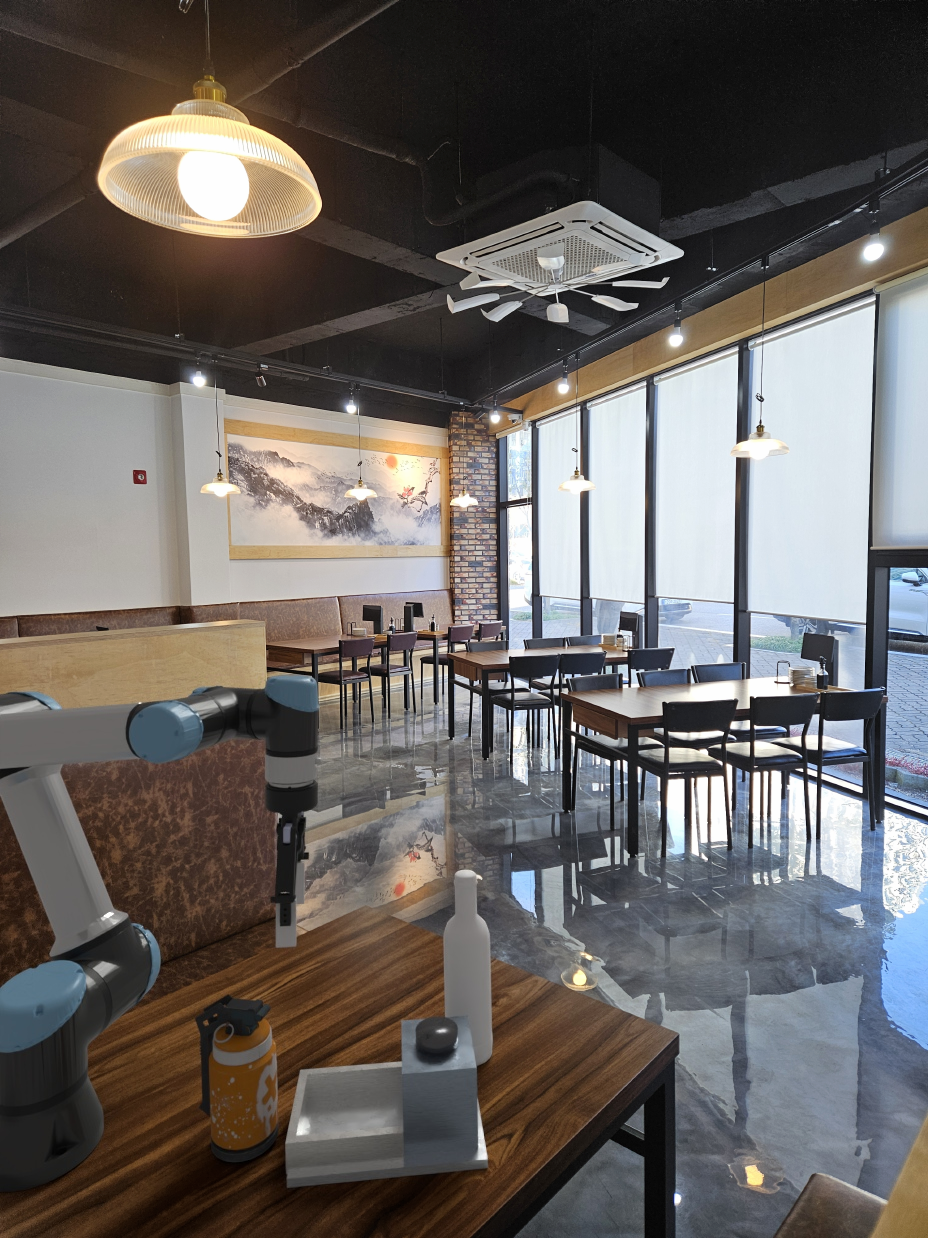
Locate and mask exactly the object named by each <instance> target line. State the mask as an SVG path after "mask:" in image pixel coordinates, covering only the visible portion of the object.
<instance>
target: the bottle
mask: <svg viewBox="0 0 928 1238" xmlns="http://www.w3.org/2000/svg"><path fill="white" fill-rule="evenodd" d="M477 885H478V879H477V873H476V872H475V871H473V870H471V869H461V870H458V871H456V872H455V873H454V880H453V886H454V905H455V906H454V911H455V912H454V915H453V916H452V917H451V918H449V919H448V921H447V922H446V925H445V928H444V931H443V938H442V939H443V941H442V942H443V977H444V978H443V980H444V981H443V983H444V984H443V986H444V987H443V988H444V1017H454V1016H467V1015H468V1020H469V1026H470V1032H471V1037H472V1043H473V1049H474V1055H475V1060H476V1066H477V1067H478V1066H480V1065H482V1064H485V1063H486V1062H487V1061H489V1060H490V1059H491V1057H492V1054H493V1046H494V1045H493V1044H494V1040H493V1039H494V1038H493V1029H492V1028H493V1022H492V1020H493V1019H492V1016H493V1015H492V971H491V967H492V966H491V934H490V931H489V930H490V929H489V928H488V924H487V921H485V920H484V919H483V918H482V916H480V915H479V914H478V910H477V909H478V906H477V904H478V900H477V896H478V895H477V894H478V893H477V892H478V891H477Z"/></svg>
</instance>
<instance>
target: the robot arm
mask: <svg viewBox="0 0 928 1238" xmlns="http://www.w3.org/2000/svg"><path fill="white" fill-rule="evenodd" d="M319 710H320V704H319V693H318V683H317V680H316V679H315V678H314V677H312V676H309V675H304V674H280V675H273V676H269V677H268V678H267V679H266V681H265V686H264V688H247V687H246V688H244V687H233V686H232V687H231V686H230V687H229V686H228V687H227V686H222V685H213V686H201V687H197V688H195V689H194V690H192V692H191V693H190V694H189V695H188V696H187V697H186V696H185V697H181V698H174V699H169V700H168V699H167V700H154V701H145V702H133V703H122V704H121V703H120V704H109V705H108V704H107V705H98V706H97V705H96V706H84V707H74V708H73V707H71V708H63V707H62V706H61V704H59V703H58V701H56V699H55V698H53V697H51V696H49V695H47V694H44V693H41V692H38V691H29V690H28V691H8V692H6V693H2V694H1V693H0V798H1V800H2V803H3V806H4V809H5V811H6V814H7V816H8V819H9V821H10V824H11V826H12V829H13V831H14V834H15V837H16V839H17V842H18V844H19V847H20V849H21V852H22V855H23V857H24V860H25V862H26V864H27V868H28V870H29V873H30V875H31V878H32V881H33V882H34V885H35V887H36V891H37V893H38V895H39V898H40V900H41V904H42V905H43V908H44V911H45V914H46V916H47V919H48V921H49V924H50V926H51V929H52V931H53V933H54V934H53V935H54V936H55V941H54V943H53V945H52V947H51V949H50V952H49V957H50V959H51V961H48V962H43V963H40V964H39V965H38V966H36V967H34V968H32V967H30V968H27V969H26V970H23V971H21V972H20V973H17V974H16V975H14V976H13V977H12V978H10V979H9V980H8V981H5V983H4V984H2V986H1V987H0V1192H2V1193H4V1192H5V1193H12V1192H20V1191H25V1190H29V1189H33V1188H36V1187H38V1186H42V1185H45V1184H47V1183H50V1182H52V1181H53V1180H55V1179H58V1178H59V1177H61V1176H63V1175H65V1174H67V1173H68V1172H70V1171H71V1170H73V1169H74V1168H76V1167H77V1166H78V1165H80V1164H81V1163H82V1162H83V1161H84V1160H85V1159H86V1158H88V1157H89V1156H90V1154H91V1153H92V1152H93V1151H94V1150H95V1148H97V1146H98V1144H99V1142H100V1141H101V1138H102V1136H103V1133H104V1124H105V1121H104V1109H103V1107H102V1104H101V1102H100V1100H99V1098H98V1095H97V1093H96V1091H95V1088H94V1086H93V1084H92V1082H91V1080H90V1077H89V1067H88V1066H89V1065H88V1064H89V1063H88V1062H89V1061H88V1046H89V1045H90V1043H92V1042H93V1040H95V1039H96V1038H97V1037H99V1035H101V1034H103V1032H104V1031H105V1030H107V1029H108V1028H109V1027H110V1026H111V1025H112V1024H114V1023H115V1022H116V1021H117V1020H118V1019H119V1018H120V1017H121V1016H122V1015H124V1014H126V1012H127V1011H128V1010H131V1009H132V1008H134V1007H135V1006H136V1005H137V1004H138V1003H140V1001H142V999H143V997H144V996H145V995H146V994H147V993H148V992H149V991H150V990H151V989H152V988H153V986H154V984H155V983H156V980H157V977H158V975H159V973H160V970H161V961H162V960H161V959H162V958H161V951H160V947H159V944H158V942H157V940H156V938H155V936H154V935H153V933H152V932H151V931H150V930H149V929H145V928H144V926H143V925H142V924H139V923H132V921H131V918H130V916H129V914H128V913H127V912H124V911H121V910H118V909H116V908H114V906H113V903H112V900H111V898H110V896H109V893H108V891H107V887H106V885H105V882H104V881H103V877H102V875H101V873H100V869H99V867H98V865H97V862H96V860H95V857H94V855H93V852H92V849H91V847H90V845H89V843H88V840H87V837H86V835H85V832H84V830H83V828H82V825H81V822H80V820H79V817H78V814H77V812H76V809H75V806H74V805H73V802H72V800H71V796H70V794H69V791H68V789H67V786H66V784H65V781H64V779H63V777H62V774H61V770H62V768H63V766H64V765H70V764H82V763H83V764H85V763H97V762H98V763H99V762H110V761H111V762H112V761H113V762H116V761H125V760H126V761H127V760H128V761H129V760H139V759H143V760H145V761H147V762H148V763H152V764H165V763H168V762H169V763H170V762H175V761H176V762H177V761H180V760H183V759H184V758H186V757H188V756H190V755H192V754H195V753H197V752H200V751H202V750H204V749H207V748H210V747H213V746H215V745H219V744H220V743H224V742H226V741H229V740H231V739H232V740H233V739H234V740H235V739H241V740H260V741H261V740H264V746H265V752H264V779H265V781H266V782H267V783H266V784H265V786H264V790H265V792H264V794H265V797H264V799H265V801H264V803H265V806H264V807H265V809H266V810H268V811H269V812H272V813H274V814H276V813H277V814H280V815H281V817H278V822H277V823H276V829H275V831H276V835H277V836H276V837H277V838H276V851H277V853H276V866H275V867H276V869H275V884H274V885H275V887H274V888H275V889H274V896H270V899H269V900H270V903H271V904H275V948H276V949H278V948H293V947H294V948H295V947H297V912H298V911H297V905H304V904H305V893H306V892H305V888H306V887H305V883H306V882H305V880H306V879H305V878H306V876H305V873H306V872H305V871H306V870H305V867H306V866H305V865H306V863H305V862H306V861H305V860H307V861H308V860H310V852H309V851H306V849H307V846H306V828H307V817H306V816H305V813H306V812H309V811H311V810H314V809H315V807H317V805H318V804H319V802H318V801H319V800H318V799H319V796H318V795H319V793H318V792H319V788H318V787H319V785H318V781H316V779H317V778H318V770H319V769H318V765H321V764H322V763H323V760H322V757H318V750H319V748H318V747H319V746H318V745H319V743H318V742H319V740H318V739H319Z"/></svg>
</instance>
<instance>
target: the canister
mask: <svg viewBox="0 0 928 1238" xmlns="http://www.w3.org/2000/svg"><path fill="white" fill-rule="evenodd" d="M271 1007H272V1006H270V1005H269V1004H267V1003H265V1004H264V1001H263V999H258V998H257V999H256V1000H253V999H244V998H236V997H233V996H231V995H230V994H226V995H224V996H223V997H221V998H219V999H218V1000H216V1001H215V1002H213V1003H211V1004H209V1005H208V1006H205V1007H204V1008H203V1013H201V1014H199V1015H197V1016H195V1017H194V1021H195V1023H196V1026H197V1029H198V1032H199V1035H200V1036H199V1037H200V1038H199V1040H200V1041H199V1052H200V1053H199V1054H200V1066H201V1067H200V1069H201V1070H200V1071H201V1072H200V1074H201V1075H200V1076H201V1103H200V1104H199V1106H198V1108H199V1109H200V1110H201V1111H203V1112H204V1113H205V1114H206V1115H207V1116H208V1117H210V1143H211V1144H210V1148H211V1151H212V1153H213V1154H214V1156H215V1157H216V1158H218V1159H219V1160H221V1161H223V1162H230V1163H240V1162H245V1161H248V1160H252V1159H255V1158H257V1157H259V1156H261V1155H262V1154H263V1153H265V1152H266V1151H268V1149H270V1148H271V1146H273V1145H274V1142H276V1140H277V1138H278V1134H279V1102H278V1100H279V1099H278V1097H279V1096H278V1095H279V1094H278V1065H277V1064H278V1062H277V1043H276V1040H275V1039H274V1038H273V1032H272V1030H273V1029H272V1026H271V1025H270V1024H269V1021H268V1020H267V1019H266V1018H265V1017H266V1016H267V1014H268V1013H269V1012H271ZM206 1021H207V1023H208V1024H207V1025H206V1024H205V1022H206Z"/></svg>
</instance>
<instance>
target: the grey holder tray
mask: <svg viewBox="0 0 928 1238" xmlns="http://www.w3.org/2000/svg"><path fill="white" fill-rule="evenodd" d="M400 1022H401V1023H400V1024H401V1033H400V1034H401V1036H400V1037H401V1061H392V1062H391V1061H390V1062H389V1061H388V1062H381V1063H380V1062H378V1063H367V1064H365V1063H364V1064H356V1065H343V1066H330V1067H320V1068H319V1067H318V1068H306V1069H300V1070H299V1075H298V1080H297V1084H296V1088H295V1089H296V1090H295V1094H294V1099H293V1105H292V1109H291V1115H290V1118H289V1124H288V1129H287V1133H286V1139H285V1144H284V1145H285V1147H284V1148H285V1175H286V1188H287V1189H288V1188H289V1189H291V1188H300V1187H307V1186H308V1187H309V1186H319V1185H321V1186H322V1185H331V1184H339V1183H349V1182H351V1183H352V1182H361V1181H369V1180H370V1181H373V1180H380V1179H381V1180H382V1179H389V1178H390V1179H391V1178H402V1177H409V1176H410V1177H411V1176H420V1175H421V1176H423V1175H431V1174H441V1173H442V1174H443V1173H450V1172H451V1173H452V1172H461V1171H474V1170H481V1169H488V1168H489V1160H488V1152H487V1147H486V1141H485V1136H484V1128H483V1121H482V1115H481V1111H480V1110H481V1109H480V1105H479V1099H478V1097H479V1096H478V1070H477V1069H478V1068H477V1067H478V1066H476V1060H475V1055H474V1049H473V1043H472V1037H471V1032H470V1026H469V1020H468V1015H467V1016H454V1017H445V1016H431V1017H426V1018H417V1019H406V1020H405V1019H403V1020H402V1019H401V1021H400Z"/></svg>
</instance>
